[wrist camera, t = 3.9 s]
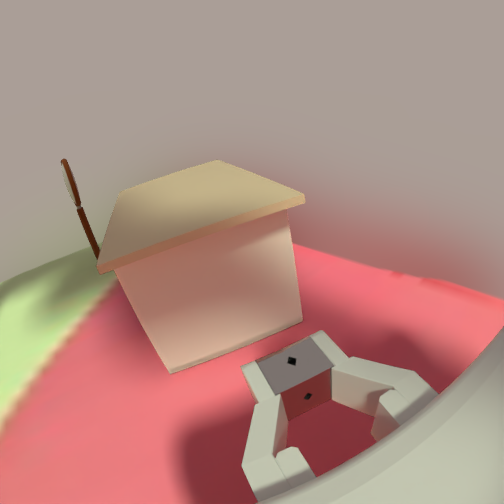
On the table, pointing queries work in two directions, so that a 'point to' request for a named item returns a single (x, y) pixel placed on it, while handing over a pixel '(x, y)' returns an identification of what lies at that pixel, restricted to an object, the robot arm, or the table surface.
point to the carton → (216, 291)
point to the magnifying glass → (78, 204)
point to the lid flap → (187, 210)
